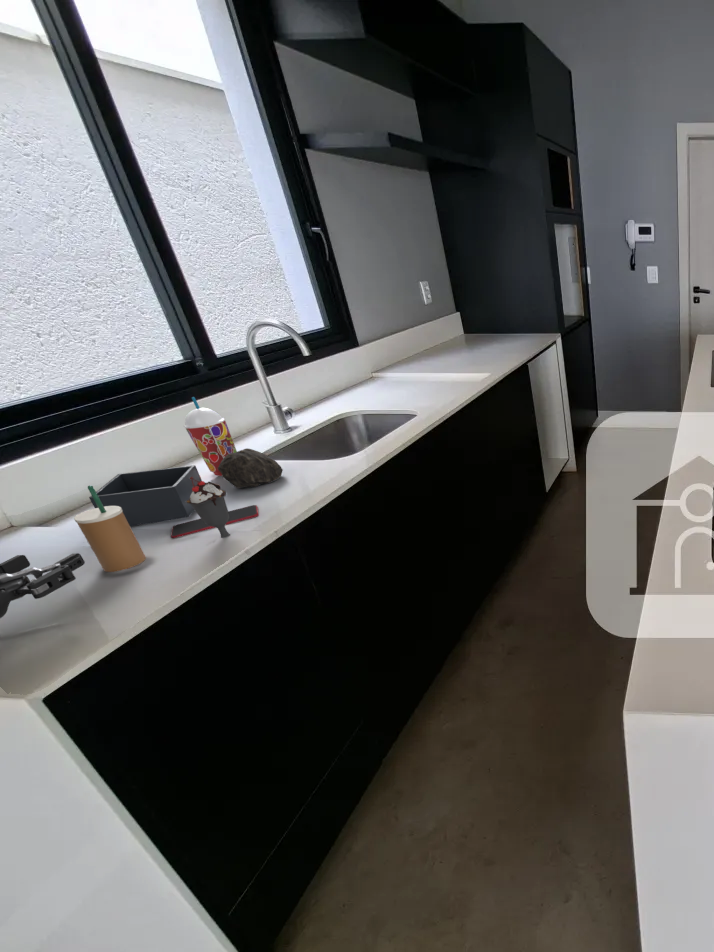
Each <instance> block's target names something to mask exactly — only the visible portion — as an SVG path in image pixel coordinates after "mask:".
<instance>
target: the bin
mask: <svg viewBox="0 0 714 952" xmlns="http://www.w3.org/2000/svg"><path fill="white" fill-rule="evenodd" d="M191 477H193V479H194V480H193V479H190V478H191ZM192 480H193V483H194V486H196V485H197V483H198V482H197V481H203V480H202V477H201V475H200V473H199V470H198V468H197V465H196V464H193V465H184V466H176V467H168V468H159V469H149V470H141V471H134V472H133V471H131V472H123V473H117V474H116V475H115V476H114V477H113V478H111V479H110V480H108V481H107V482H106V483H105V484H104V485H103V486H101V487H100V488H99V489H97V491H96V493H97V495H98V497H99V499H100V501H101V502H102V504H103V506H104V507H105V506H119V507H121V508H122V512H123V514H124V516H125V518H126V520H127V522H128V524H129V525H130V527H135V526H142V525H143V526H144V525H150V524H156V523H157V524H158V523H164V522H169V521H175V520H179V519H184V518H189V517H190V516H191V515H192V514H193V513H194V512H195V510H194V508H193V507H192V506H191V505H190V504H187V503H185V501H187V500H188V499H189V498H190V496H191V494H192V488H193V484H192ZM195 480H197V481H195ZM88 498H89V500H90V502H91V504H92V506H93V509H94V508H98V506H97V504H96V502H95V501H94V499H93V497H92V495H90V496H89V497H88Z"/></svg>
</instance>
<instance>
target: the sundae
mask: <svg viewBox="0 0 714 952" xmlns="http://www.w3.org/2000/svg"><path fill="white" fill-rule="evenodd" d="M190 479H193V477H191V478H190ZM193 480H194V479H193ZM193 480H192V484H193V488H192V494H191V496H190V498H189V499H188V500H187V501H185V503H187V504H190V505H191V506H192V507H193V508H194V512H196V514H197V515H198V517H199V519H200V518H201V519H202V520H203V521H204V522H205V524H207V525H209V526H212V527H215V528H216V529H217V530H218V531H219V534H220V538H221V539H225V538H228V537H231V534H230V533H229V532H228V530H227V528H226V525H225V524H226V523H227V522H228V520H229V513H228V511H229V509H228V506H227V502H226V499H225V497H226V496H227V494H228V493H227V490H226V489H221V485H220V484H219V483H215V482H213V481H208V482H205V481H203V480H202V481H197V480H195V481H197V482H198V483H197V485H196V486H194V483H193Z"/></svg>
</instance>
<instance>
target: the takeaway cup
mask: <svg viewBox="0 0 714 952" xmlns="http://www.w3.org/2000/svg"><path fill="white" fill-rule="evenodd" d="M87 489H88V491H89V494H90V496H92V497H93V499H94V501H95V502H96V504H97V506H98V508H94V507H93V508H91V509H88V510H85V511H82V512H79V513H78V514H76V515H75V516H74V517H73V520H74V522H75V523H77V525H78V527H79V529H80V530H81V533H82V534H83V536H84V538H85V539H86V541H87V543H88V545H89V547H90V548H91V550H92V553H93V554H94V556H95V557H96V559H97V561H98V563H99V564H100V566H101V568H102V569H103V571H104V572H106V573H114V572H120V571H124V570H128V569H131V568H133V567H135V566H138V565H140V564H142V563H143V562H144V561H145V560H146V559H147V556H146V554H145V553H144V551H143V548H142V547H141V545H140V543H139V541H138V539H137V537H136V535H135V533H134V531H133V529H132V526H130V525H129V524H128V522H127V520H126V518H125V516H124V514H123V512H122V508H121V507H119V506H105V507H104V506H103V504H102V502H101V501H100V499H99V497H98V495H97V493H96V492H97V491H96V489H95V487H94V486H93V485H87Z"/></svg>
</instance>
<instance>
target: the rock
mask: <svg viewBox="0 0 714 952" xmlns="http://www.w3.org/2000/svg"><path fill="white" fill-rule="evenodd" d="M218 470H219V471H220V472H221V474H222V476H221V477H222V478H223V479H224V480H225V481H226V482H228V483H229V484H230V485H231V486H233V487H234V488H237V489H242V488H247V489H248V488H249V489H251V488H257V487H258V486H260V485H268V484H271V483H273V482H275V481H277V480H279V479H280V477H281V476H282V474H283V471H284V469H283V468H282V466H281V465H280V464H279V463H278V462H277V461H276V459H274V458H271V457H269V455H266V454H265V453H264V452H260V451H258V450H256V449H252V448H248V447H247V448H243V449H241V450H238V451H237V452H235V453H230V454H228V455H226V456H225V457H224V458H223V460H222V461H221V463H220V465H219V467H218Z"/></svg>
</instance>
